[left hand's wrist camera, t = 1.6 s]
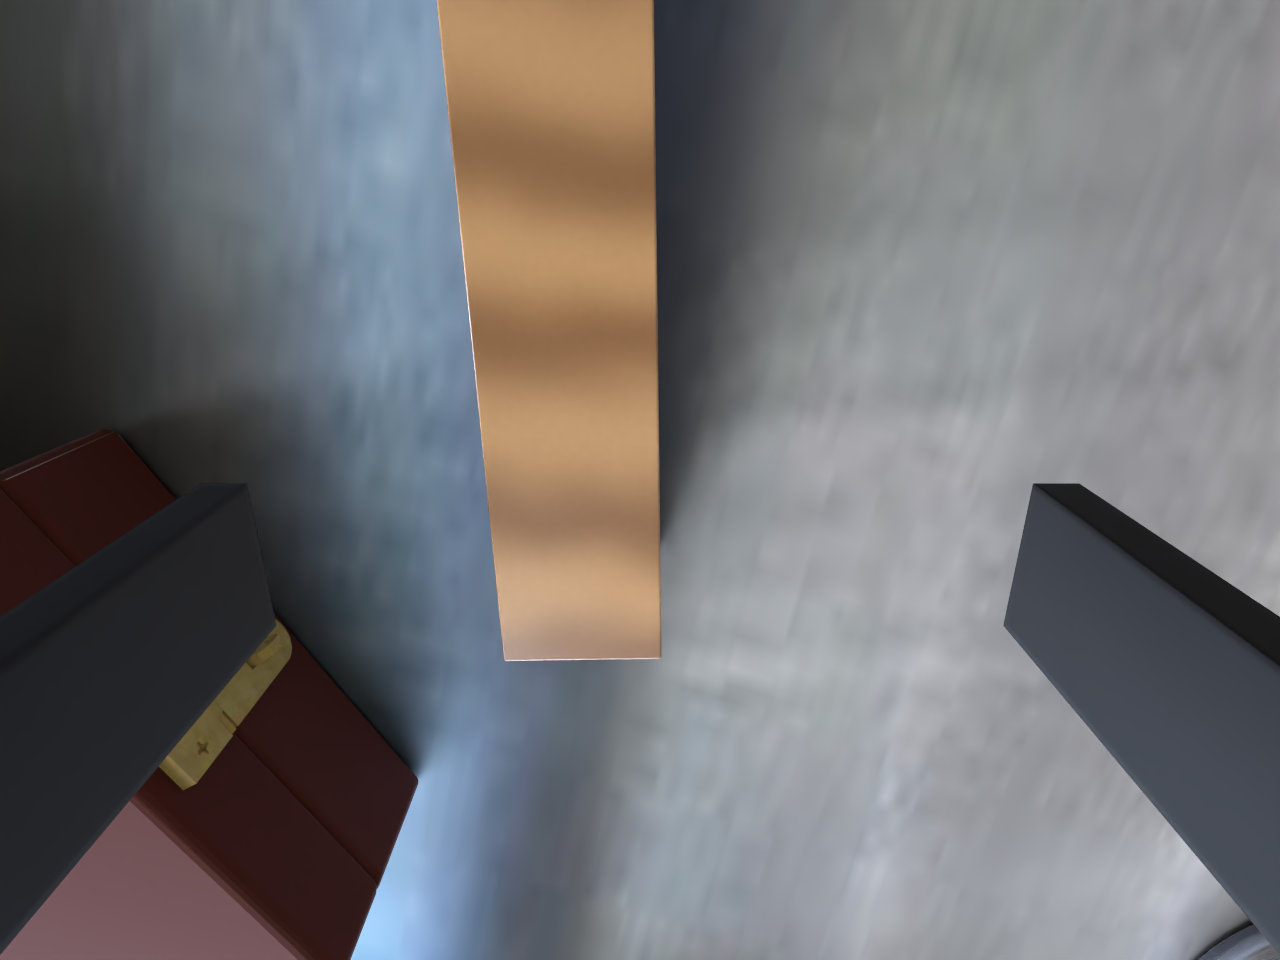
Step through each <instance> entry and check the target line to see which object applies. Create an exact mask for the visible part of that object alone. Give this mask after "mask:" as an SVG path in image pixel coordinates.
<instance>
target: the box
mask: <svg viewBox="0 0 1280 960" xmlns="http://www.w3.org/2000/svg"><path fill="white" fill-rule="evenodd" d="M174 501H176V500H175V498H174V497H173V496H172V495H171V494H170V493H169V492H168V490H167V489H166V488H165V487H164V486H163V485H162V483H161V482H160V481H159V480H158V479H157V478H156V477H155V475H154V474H153V473H152V472H151V471H150V470H149V469H148V467H147V466H146V465H145V464H144V463H143V462H142V460H141V459H140V458H139V457H138V456H137V455H136V454H135V452H134V451H133V450H132V449H131V448H130V447H129V445H128V444H127V443H126V442H125V441H124V440H123V439H122V437H121V436H120V435H119V434H118V433H117V432H115V431H113V430H111V429H107V428H105V429H100V430H98V431H95V432H93V433H90V434H88V435H86V436H83V437H81V438H79V439H76V440H74V441H72V442H69V443H67V444H65V445H62V446H60V447H57V448H55V449H53V450H50V451H48V452H46V453H43V454H41V455H39V456H36V457H34V458H32V459H29V460H27V461H25V462H22V463H20V464H17V465H15V466H13V467H10V468H8V469H6V470H3V471H1V472H0V617H1V616H2V615H4V614H5V613H7V612H8V611H10V610H11V609H13V608H14V607H16V606H17V605H19V604H20V603H22V602H23V601H25V600H26V599H28V598H30V597H31V596H33V595H34V594H36V593H37V592H39V591H40V590H42V589H43V588H45V587H46V586H48V585H49V584H51V583H52V582H54V581H55V580H57V579H58V578H60V577H61V576H63V575H64V574H66V573H67V572H69V571H70V570H72V569H73V568H75V567H76V566H78V565H79V564H81V563H82V562H84V561H85V560H87V559H88V558H90V557H91V556H93V555H94V554H96V553H97V552H99V551H100V550H102V549H103V548H105V547H106V546H108V545H109V544H111V543H112V542H114V541H115V540H117V539H118V538H120V537H121V536H123V535H124V534H126V533H127V532H129V531H130V530H132V529H133V528H135V527H136V526H138V525H139V524H141V523H142V522H144V521H145V520H147V519H148V518H150V517H151V516H153V515H154V514H156V513H157V512H159V511H160V510H162V509H163V508H165V507H166V506H168V505H169V504H171V503H173V502H174ZM274 616H275V621H276V627H275V628H274V629H273V630H272V632H271V633H270V634H269V635H268V636H267V638H266V639H265V640H264V641H263V642H262V643H261V645H260V646H259V647H258V648H257V649H256V651H255V652H254V653H253V654H252V655H251V657H250V658H249V659H248V660H247V661H246V663H245V664H244V665H243V666H242V667H241V669H240V670H239V671H238V672H237V673H236V674H235V676H234V677H233V678H232V679H231V680H230V682H229V683H228V684H227V685H226V686H225V688H224V689H223V690H222V691H221V692H220V694H219V695H218V696H217V697H216V698H215V700H214V701H213V702H212V703H211V704H210V706H209V707H208V708H207V709H206V710H205V711H204V713H203V714H202V715H201V716H200V717H199V719H198V720H197V721H196V722H195V723H194V725H193V726H192V727H191V728H190V729H189V731H188V732H187V733H186V734H185V735H184V737H183V738H182V739H181V740H180V741H179V742H178V744H177V745H176V746H175V747H174V748H173V750H172V751H171V752H170V753H169V754H168V756H167V757H166V758H165V759H164V760H163V762H162V763H161V764H160V765H159V766H158V768H157V769H156V770H155V771H154V772H153V774H152V775H151V776H150V777H149V778H148V779H147V781H146V782H145V783H144V784H143V785H142V787H141V788H140V789H139V790H138V791H137V793H136V794H135V795H134V796H133V797H132V799H131V800H130V801H129V802H128V803H127V805H126V806H125V807H124V808H123V809H122V810H121V812H120V813H119V814H118V815H117V816H116V818H115V819H114V820H113V821H112V822H111V824H110V825H109V826H108V827H107V828H106V830H105V831H104V832H103V833H102V834H101V836H100V837H99V838H98V839H97V840H96V842H95V843H94V844H93V845H92V846H91V847H90V849H89V850H88V851H87V852H86V853H85V855H84V856H83V857H82V858H81V859H80V861H79V862H78V863H77V864H76V865H75V867H74V868H73V869H72V870H71V871H70V873H69V874H68V875H67V876H66V877H65V878H64V880H63V881H62V882H61V883H60V884H59V886H58V887H57V888H56V889H55V890H54V892H53V893H52V894H51V895H50V896H49V898H48V899H47V900H46V901H45V902H44V904H43V905H42V906H41V907H40V908H39V910H38V911H37V912H36V913H35V914H34V915H33V917H32V918H31V919H30V920H29V921H28V923H27V924H26V925H25V926H24V927H23V929H22V930H21V931H20V932H19V933H18V935H17V936H16V937H15V938H14V939H13V941H12V942H11V943H10V944H9V945H8V946H7V948H6V949H5V950H4V951H3V952H2V954H1V955H0V960H350V959H351V957H352V954H353V952H354V949H355V946H356V944H357V941H358V939H359V936H360V933H361V931H362V928H363V926H364V923H365V920H366V918H367V915H368V913H369V910H370V908H371V905H372V902H373V900H374V897H375V895H376V890H377V888H378V886H379V884H380V882H381V879H382V876H383V874H384V871H385V869H386V866H387V863H388V861H389V858H390V856H391V853H392V850H393V848H394V845H395V843H396V840H397V837H398V835H399V832H400V830H401V827H402V824H403V822H404V819H405V816H406V814H407V811H408V809H409V806H410V803H411V801H412V798H413V796H414V793H415V790H416V788H417V785H418V779H417V777H416V776H415V775H414V774H413V773H412V771H411V770H410V769H409V768H408V767H407V766H406V764H405V763H404V762H403V761H402V760H401V759H400V758H399V756H398V755H397V754H396V753H395V752H394V751H393V750H392V748H391V747H390V746H389V745H388V744H387V743H386V741H385V740H384V739H383V738H382V737H381V736H380V735H379V733H378V732H377V731H376V730H375V729H374V728H373V726H372V725H371V724H370V723H369V722H368V721H367V720H366V718H365V717H364V716H363V715H362V714H361V713H360V712H359V710H358V709H357V708H356V707H355V706H354V705H353V703H352V702H351V701H350V700H349V699H348V698H347V697H346V695H345V694H344V693H343V692H342V691H341V690H340V688H339V687H338V686H337V685H336V684H335V683H334V682H333V680H332V679H331V678H330V677H329V676H328V675H327V674H326V672H325V671H324V670H323V669H322V668H321V667H320V665H319V664H318V663H317V662H316V661H315V660H314V659H313V657H312V656H311V655H310V654H309V653H308V652H307V650H306V649H305V648H304V647H303V646H302V645H301V644H300V642H299V641H298V640H297V639H296V638H295V637H294V636H293V634H292V633H291V632H290V631H289V630H288V629H287V627H286V626H285V625H284V624H283V623H282V622H281V621H280V619H279V618H278V617H277V616H276V615H275V614H274Z"/></svg>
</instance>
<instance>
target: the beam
mask: <svg viewBox="0 0 1280 960" xmlns="http://www.w3.org/2000/svg"><path fill="white" fill-rule="evenodd" d="M437 8H438V18H439V27H440V37H441V47H442V57H443V67H444V76H445V86H446V96H447V106H448V116H449V125H450V135H451V145H452V155H453V165H454V174H455V184H456V194H457V204H458V214H459V223H460V233H461V243H462V253H463V263H464V272H465V282H466V292H467V302H468V312H469V321H470V331H471V341H472V351H473V361H474V370H475V380H476V390H477V400H478V410H479V419H480V429H481V439H482V449H483V459H484V468H485V478H486V488H487V498H488V508H489V517H490V527H491V537H492V547H493V557H494V566H495V576H496V586H497V596H498V606H499V615H500V625H501V635H502V645H503V655H504V660H505V661H535V660H604V659H660V658H661V575H660V490H659V404H658V319H657V234H656V149H655V63H654V0H437Z"/></svg>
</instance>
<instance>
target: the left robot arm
mask: <svg viewBox="0 0 1280 960" xmlns="http://www.w3.org/2000/svg"><path fill="white" fill-rule="evenodd" d="M275 627H276V621H275V616H274V611H273V606H272V602H271V597H270V592H269V587H268V583H267V578H266V573H265V568H264V563H263V559H262V554H261V549H260V544H259V540H258V535H257V530H256V525H255V520H254V516H253V511H252V506H251V501H250V497H249V492H248V487H247V484H200V485H198V486H197V487H195V488H194V489H192V490H191V491H189V492H188V493H186V494H185V495H183V496H182V497H180V498H179V499H177V500H176V501H174V502H173V503H171V504H169V505H168V506H166V507H165V508H163V509H162V510H160V511H159V512H157V513H156V514H154V515H153V516H151V517H150V518H148V519H147V520H145V521H144V522H142V523H141V524H139V525H138V526H136V527H135V528H133V529H132V530H130V531H129V532H127V533H126V534H124V535H123V536H121V537H120V538H118V539H117V540H115V541H114V542H112V543H111V544H109V545H108V546H106V547H105V548H103V549H102V550H100V551H99V552H97V553H96V554H94V555H93V556H91V557H90V558H88V559H87V560H85V561H84V562H82V563H81V564H79V565H78V566H76V567H75V568H73V569H72V570H70V571H69V572H67V573H66V574H64V575H63V576H61V577H60V578H58V579H57V580H55V581H54V582H52V583H51V584H49V585H48V586H46V587H45V588H43V589H42V590H40V591H39V592H37V593H36V594H34V595H33V596H31V597H30V598H28V599H26V600H25V601H23V602H22V603H20V604H19V605H17V606H16V607H14V608H13V609H11V610H10V611H8V612H7V613H5V614H4V615H2V616H1V617H0V955H1V954H2V952H3V951H4V950H5V949H6V948H7V946H8V945H9V944H10V943H11V942H12V941H13V939H14V938H15V937H16V936H17V935H18V933H19V932H20V931H21V930H22V929H23V927H24V926H25V925H26V924H27V923H28V921H29V920H30V919H31V918H32V917H33V915H34V914H35V913H36V912H37V911H38V910H39V908H40V907H41V906H42V905H43V904H44V902H45V901H46V900H47V899H48V898H49V896H50V895H51V894H52V893H53V892H54V890H55V889H56V888H57V887H58V886H59V884H60V883H61V882H62V881H63V880H64V878H65V877H66V876H67V875H68V874H69V873H70V871H71V870H72V869H73V868H74V867H75V865H76V864H77V863H78V862H79V861H80V859H81V858H82V857H83V856H84V855H85V853H86V852H87V851H88V850H89V849H90V847H91V846H92V845H93V844H94V843H95V842H96V840H97V839H98V838H99V837H100V836H101V834H102V833H103V832H104V831H105V830H106V828H107V827H108V826H109V825H110V824H111V822H112V821H113V820H114V819H115V818H116V816H117V815H118V814H119V813H120V812H121V810H122V809H123V808H124V807H125V806H126V805H127V803H128V802H129V801H130V800H131V799H132V797H133V796H134V795H135V794H136V793H137V791H138V790H139V789H140V788H141V787H142V785H143V784H144V783H145V782H146V781H147V779H148V778H149V777H150V776H151V775H152V774H153V772H154V771H155V770H156V769H157V768H158V766H159V765H160V764H161V763H162V762H163V760H164V759H165V758H166V757H167V756H168V754H169V753H170V752H171V751H172V750H173V748H174V747H175V746H176V745H177V744H178V742H179V741H180V740H181V739H182V738H183V737H184V735H185V734H186V733H187V732H188V731H189V729H190V728H191V727H192V726H193V725H194V723H195V722H196V721H197V720H198V719H199V717H200V716H201V715H202V714H203V713H204V711H205V710H206V709H207V708H208V707H209V706H210V704H211V703H212V702H213V701H214V700H215V698H216V697H217V696H218V695H219V694H220V692H221V691H222V690H223V689H224V688H225V686H226V685H227V684H228V683H229V682H230V680H231V679H232V678H233V677H234V676H235V674H236V673H237V672H238V671H239V670H240V669H241V667H242V666H243V665H244V664H245V663H246V661H247V660H248V659H249V658H250V657H251V655H252V654H253V653H254V652H255V651H256V649H257V648H258V647H259V646H260V645H261V643H262V642H263V641H264V640H265V639H266V638H267V636H268V635H269V634H270V633H271V632H272V630H273V629H274V628H275ZM1004 627H1005V628H1006V629H1007V630H1008V632H1009V633H1010V634H1011V635H1012V636H1013V638H1014V639H1015V640H1016V641H1017V642H1018V643H1019V645H1020V646H1021V647H1022V648H1023V649H1024V651H1025V652H1026V653H1027V654H1028V655H1029V657H1030V658H1031V659H1032V660H1033V661H1034V663H1035V664H1036V665H1037V666H1038V667H1039V669H1040V670H1041V671H1042V672H1043V673H1044V674H1045V676H1046V677H1047V678H1048V679H1049V680H1050V682H1051V683H1052V684H1053V685H1054V686H1055V688H1056V689H1057V690H1058V691H1059V692H1060V694H1061V695H1062V696H1063V697H1064V698H1065V700H1066V701H1067V702H1068V703H1069V704H1070V706H1071V707H1072V708H1073V709H1074V710H1075V711H1076V713H1077V714H1078V715H1079V716H1080V717H1081V719H1082V720H1083V721H1084V722H1085V723H1086V725H1087V726H1088V727H1089V728H1090V729H1091V731H1092V732H1093V733H1094V734H1095V735H1096V737H1097V738H1098V739H1099V740H1100V741H1101V742H1102V744H1103V745H1104V746H1105V747H1106V748H1107V750H1108V751H1109V752H1110V753H1111V754H1112V756H1113V757H1114V758H1115V759H1116V760H1117V762H1118V763H1119V764H1120V765H1121V766H1122V768H1123V769H1124V770H1125V771H1126V772H1127V774H1128V775H1129V776H1130V777H1131V778H1132V779H1133V781H1134V782H1135V783H1136V784H1137V785H1138V787H1139V788H1140V789H1141V790H1142V791H1143V793H1144V794H1145V795H1146V796H1147V797H1148V799H1149V800H1150V801H1151V802H1152V803H1153V805H1154V806H1155V807H1156V808H1157V809H1158V811H1159V812H1160V813H1161V814H1162V815H1163V816H1164V818H1165V819H1166V820H1167V821H1168V822H1169V824H1170V825H1171V826H1172V827H1173V828H1174V830H1175V831H1176V832H1177V833H1178V834H1179V836H1180V837H1181V838H1182V839H1183V840H1184V842H1185V843H1186V844H1187V845H1188V846H1189V847H1190V849H1191V850H1192V851H1193V852H1194V853H1195V855H1196V856H1197V857H1198V858H1199V859H1200V861H1201V862H1202V863H1203V864H1204V865H1205V867H1206V868H1207V869H1208V870H1209V871H1210V873H1211V874H1212V875H1213V876H1214V877H1215V879H1216V880H1217V881H1218V882H1219V883H1220V884H1221V886H1222V887H1223V888H1224V889H1225V890H1226V892H1227V893H1228V894H1229V895H1230V896H1231V898H1232V899H1233V900H1234V901H1235V902H1236V904H1237V905H1238V906H1239V907H1240V908H1241V910H1242V911H1243V912H1244V913H1245V914H1246V915H1247V917H1248V918H1249V919H1250V920H1251V921H1252V923H1253V925H1251V926H1249V927H1247V928H1245V929H1243V930H1241V931H1239V932H1237V933H1235V934H1233V935H1232V936H1230V937H1228V938H1227V939H1225V940H1223V941H1222V942H1220V943H1219V944H1217V945H1216V946H1215V947H1213V948H1212V949H1210V950H1209V951H1208V952H1207V953H1205V954H1204V955H1203V956H1202V957H1201V958H1200V959H1199V960H1280V617H1279V616H1278V615H1276V614H1275V613H1273V612H1272V611H1270V610H1269V609H1267V608H1266V607H1264V606H1263V605H1261V604H1260V603H1258V602H1257V601H1255V600H1254V599H1252V598H1250V597H1249V596H1247V595H1246V594H1244V593H1243V592H1241V591H1240V590H1238V589H1237V588H1235V587H1234V586H1232V585H1231V584H1229V583H1228V582H1226V581H1225V580H1223V579H1222V578H1220V577H1219V576H1217V575H1216V574H1214V573H1213V572H1211V571H1210V570H1208V569H1207V568H1205V567H1204V566H1202V565H1201V564H1199V563H1198V562H1196V561H1195V560H1193V559H1192V558H1190V557H1189V556H1187V555H1186V554H1184V553H1183V552H1181V551H1180V550H1178V549H1177V548H1175V547H1174V546H1172V545H1171V544H1169V543H1168V542H1166V541H1165V540H1163V539H1162V538H1160V537H1159V536H1157V535H1156V534H1154V533H1153V532H1151V531H1150V530H1148V529H1147V528H1145V527H1144V526H1142V525H1141V524H1139V523H1138V522H1136V521H1135V520H1133V519H1132V518H1130V517H1129V516H1127V515H1126V514H1124V513H1123V512H1121V511H1120V510H1118V509H1117V508H1115V507H1114V506H1112V505H1111V504H1109V503H1107V502H1106V501H1104V500H1103V499H1101V498H1100V497H1098V496H1097V495H1095V494H1094V493H1092V492H1091V491H1089V490H1088V489H1086V488H1085V487H1083V486H1082V485H1080V484H1033V487H1032V492H1031V497H1030V501H1029V506H1028V511H1027V516H1026V520H1025V525H1024V530H1023V535H1022V540H1021V544H1020V549H1019V554H1018V559H1017V563H1016V568H1015V573H1014V578H1013V583H1012V587H1011V592H1010V597H1009V602H1008V606H1007V611H1006V616H1005V621H1004Z"/></svg>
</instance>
